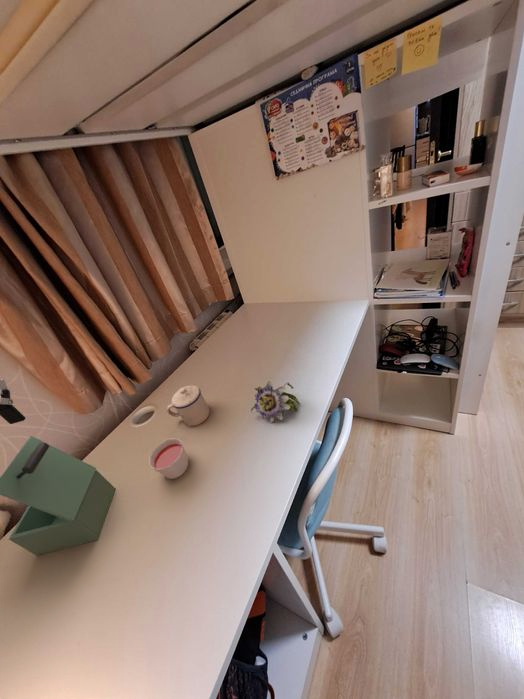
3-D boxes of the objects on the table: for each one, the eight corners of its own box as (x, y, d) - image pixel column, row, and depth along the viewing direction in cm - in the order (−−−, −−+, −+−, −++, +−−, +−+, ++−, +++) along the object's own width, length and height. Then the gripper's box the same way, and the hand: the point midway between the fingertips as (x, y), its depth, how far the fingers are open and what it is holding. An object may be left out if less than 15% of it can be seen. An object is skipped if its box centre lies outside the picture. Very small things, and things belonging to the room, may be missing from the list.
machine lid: (-10, 491, 53) (6, 478, 52) (29, 437, 64) (43, 425, 63) (71, 521, 61) (87, 511, 60) (94, 469, 72) (108, 459, 70)
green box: (36, 555, 67) (8, 539, 63) (62, 502, 78) (40, 485, 73) (97, 540, 66) (74, 522, 61) (115, 488, 77) (96, 469, 72)
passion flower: (277, 432, 84) (244, 417, 79) (279, 401, 91) (248, 385, 86) (304, 419, 77) (270, 401, 72) (304, 386, 84) (272, 367, 80)
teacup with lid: (210, 401, 95) (197, 375, 89) (210, 421, 87) (195, 394, 81) (176, 412, 95) (160, 387, 89) (173, 433, 88) (155, 407, 81)
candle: (156, 466, 79) (145, 453, 75) (186, 446, 82) (176, 432, 78) (166, 490, 72) (154, 476, 69) (197, 467, 75) (187, 453, 72)
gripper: (-54, 349, 53) (13, 412, 62) (-160, 419, 39) (-52, 487, 48) (-18, 338, 53) (45, 403, 62) (-111, 404, 38) (-11, 476, 48)
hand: (3, 440), depth 55 cm, fingers open, 9 cm apart
